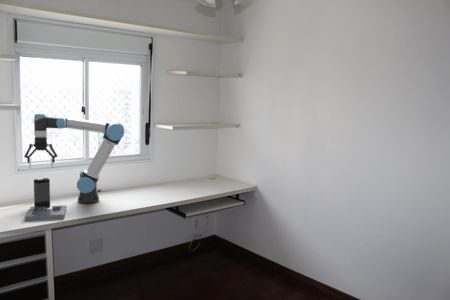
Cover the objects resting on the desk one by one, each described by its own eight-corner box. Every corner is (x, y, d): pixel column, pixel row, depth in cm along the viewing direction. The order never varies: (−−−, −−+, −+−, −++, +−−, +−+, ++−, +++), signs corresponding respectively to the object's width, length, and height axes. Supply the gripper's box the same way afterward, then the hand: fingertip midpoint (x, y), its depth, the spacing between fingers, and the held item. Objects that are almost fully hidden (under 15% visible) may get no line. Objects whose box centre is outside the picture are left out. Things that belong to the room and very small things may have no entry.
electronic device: (46, 205, 267) (46, 177, 265) (51, 207, 264) (50, 179, 261) (33, 207, 260) (32, 179, 258) (37, 209, 257) (36, 180, 254)
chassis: (66, 209, 260) (66, 204, 259) (63, 219, 239) (63, 213, 239) (30, 211, 253) (30, 205, 252) (25, 221, 232) (24, 215, 232)
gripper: (61, 136, 263) (61, 166, 266) (21, 136, 255) (21, 166, 258) (60, 137, 256) (60, 168, 259) (19, 137, 248) (19, 168, 251)
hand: (41, 167), depth 258 cm, fingers open, 13 cm apart
